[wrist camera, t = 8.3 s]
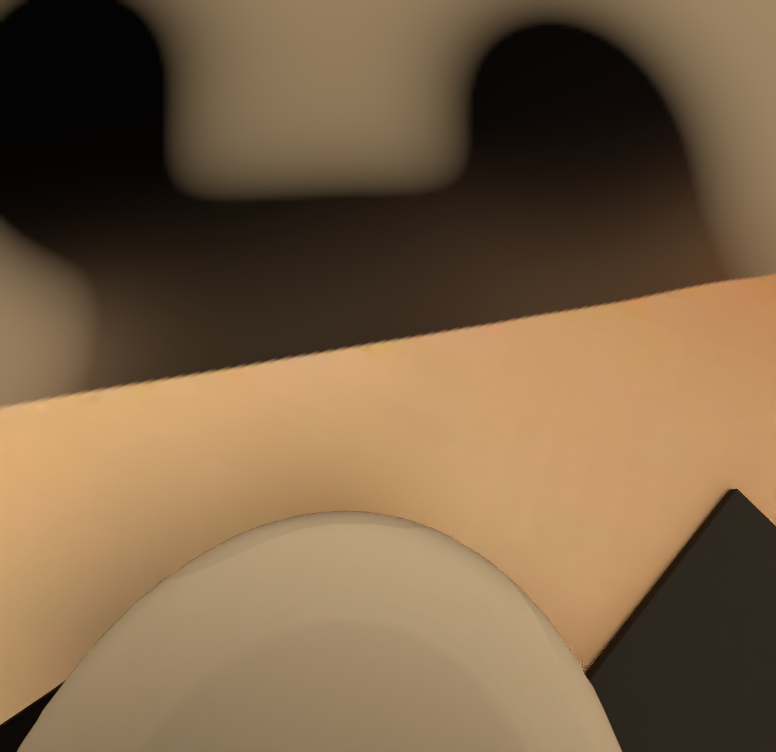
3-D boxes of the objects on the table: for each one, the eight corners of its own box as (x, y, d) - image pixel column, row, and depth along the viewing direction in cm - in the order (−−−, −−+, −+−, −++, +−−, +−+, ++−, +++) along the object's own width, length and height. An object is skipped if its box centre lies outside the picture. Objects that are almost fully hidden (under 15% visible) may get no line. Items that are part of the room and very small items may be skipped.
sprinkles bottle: (297, 529, 15) (117, 457, 3) (404, 548, 15) (648, 551, 3) (263, 665, 13) (-676, 2098, 1) (388, 685, 13) (877, 2127, 1)
